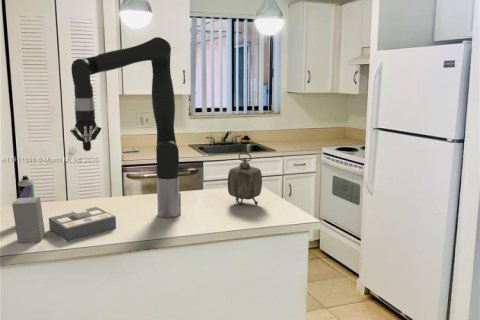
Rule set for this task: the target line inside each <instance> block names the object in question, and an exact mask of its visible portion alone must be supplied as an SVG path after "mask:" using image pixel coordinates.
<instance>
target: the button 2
mask: <svg viewBox="0 0 480 320" xmlns="http://www.w3.org/2000/svg"><path fill="white" fill-rule="evenodd" d="M88 213H89V214H91V215H96V214H100V213H103V212H101V211H99V210H94V211H90V212H88Z"/></svg>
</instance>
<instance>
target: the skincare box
mask: <svg viewBox="0 0 480 320" xmlns="http://www.w3.org/2000/svg"><path fill="white" fill-rule="evenodd" d="M11 205H12V211H13V212H12V213H13V219H14V225H15V232H16V237H17V243H18V244H23V243H36V242H37V243H38V242H42V240H43V238H44V237H45V236H46V231H45V224H44V223H45V222H44V218H43V217H44V215H43V209H42V201H41V197H40V196H34V197H31V198H19V197H18V198H17V199H15V200H14V201H13V203H12V204H11Z"/></svg>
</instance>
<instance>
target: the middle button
mask: <svg viewBox="0 0 480 320" xmlns="http://www.w3.org/2000/svg"><path fill="white" fill-rule="evenodd" d="M85 209H86V208H78V209H74V210H72V211H71V213H72V217H74V218H76V219H79V218H83V217H87V216H88V211H87V210H85Z"/></svg>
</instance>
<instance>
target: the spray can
mask: <svg viewBox="0 0 480 320" xmlns="http://www.w3.org/2000/svg"><path fill="white" fill-rule="evenodd" d="M17 185H18V186H17V188H18V196H19V197H18V198H31V197H35V190H34V189H35V187H34V181H33V180H31V179H30V178H29V177H28V175H23V176H22V178H21V180H20V181H19V180H18V183H17Z"/></svg>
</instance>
